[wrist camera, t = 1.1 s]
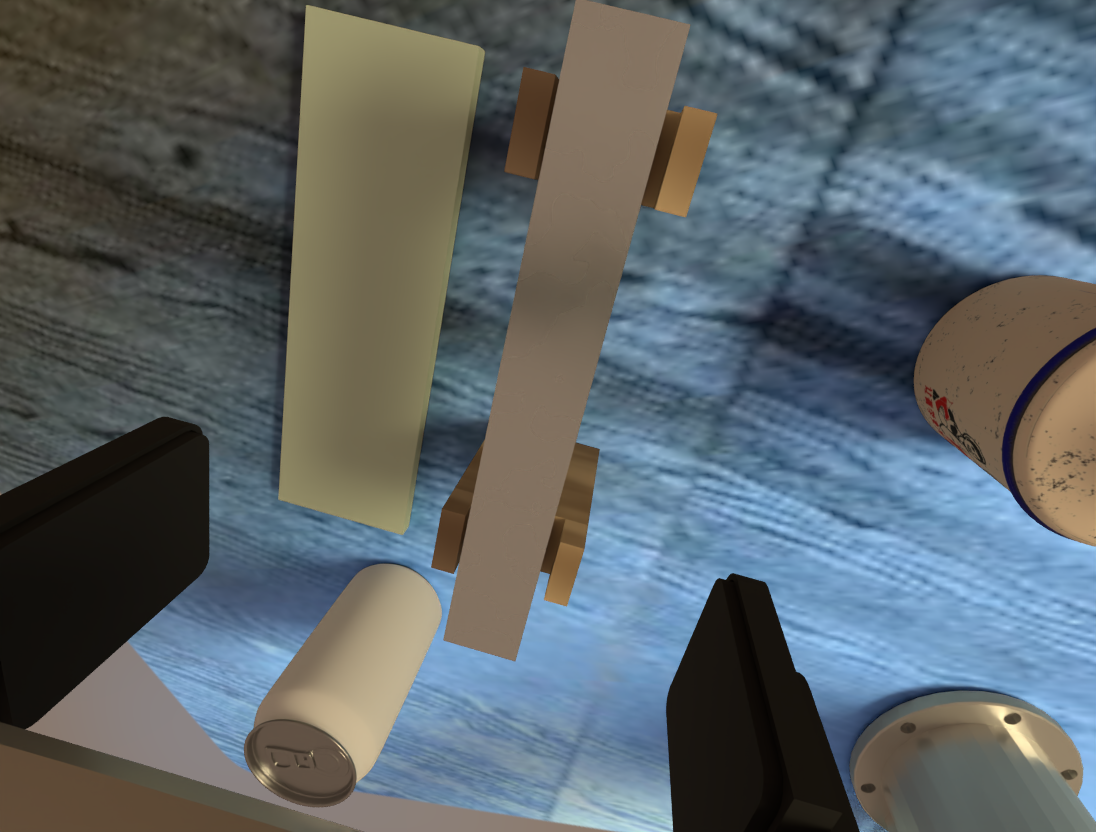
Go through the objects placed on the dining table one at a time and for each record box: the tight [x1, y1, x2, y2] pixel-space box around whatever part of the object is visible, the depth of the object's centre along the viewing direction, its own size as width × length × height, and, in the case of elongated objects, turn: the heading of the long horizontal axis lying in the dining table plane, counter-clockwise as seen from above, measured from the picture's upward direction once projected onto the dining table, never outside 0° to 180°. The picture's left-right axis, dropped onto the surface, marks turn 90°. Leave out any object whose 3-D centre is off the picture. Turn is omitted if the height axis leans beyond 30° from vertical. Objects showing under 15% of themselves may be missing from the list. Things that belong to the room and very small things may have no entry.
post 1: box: [431, 440, 600, 606], centre depth 29 cm, size 3×6×10 cm, turn 77°
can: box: [244, 564, 442, 807], centre depth 33 cm, size 6×6×12 cm
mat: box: [279, 5, 485, 535], centre depth 31 cm, size 26×8×1 cm, turn 167°
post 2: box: [504, 67, 717, 217], centre depth 23 cm, size 3×6×10 cm, turn 77°
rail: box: [444, 0, 690, 661], centre depth 21 cm, size 22×3×4 cm, turn 167°
